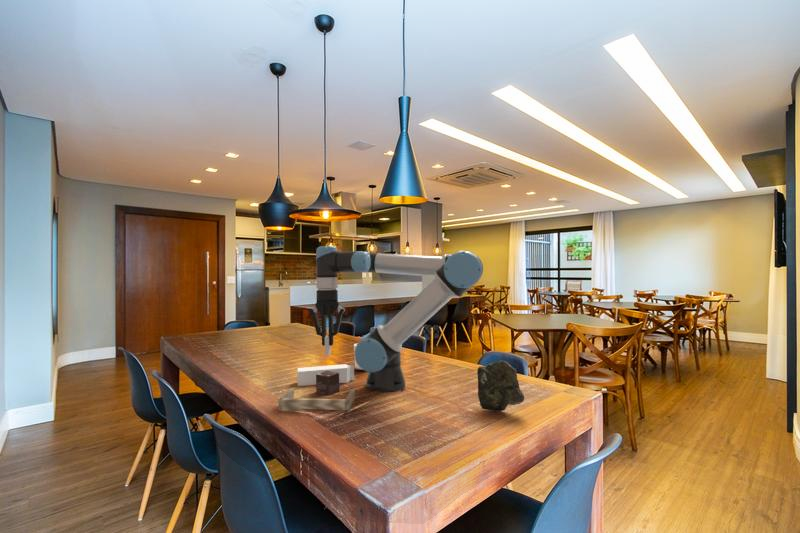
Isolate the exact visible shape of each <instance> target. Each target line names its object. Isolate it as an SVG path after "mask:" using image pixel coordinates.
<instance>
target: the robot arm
mask: <svg viewBox="0 0 800 533" xmlns="http://www.w3.org/2000/svg"><path fill="white" fill-rule="evenodd" d="M315 253H316V254H315V256H316V257H315V263H316V264H315V267H316V269H315V270H316V271H315V272H316V278H315V279H316V283H315V284H316V289H317V290H316V302H315V305H314V306H313V307H312V308H309V310H308V311H309V313H310V315H311V318H312V321H313V325H314V328H315V329H314V330H315V333H316V335H317V336H320V337H321V345H322V346H323V347H324V356H330V355H331V353H332V352H331V351H332V350H331V349H332V348H331V347H332V346H333V345H334V336H337V335H338V334H339V332H340V327H341V322H342V318H343V314H344V313H345V311H346V308H345V307H342V306H341V305H340V303H339V300H338V296H339V295H338V287H339V286H338V284H339V283H338V274H341V273H352V274H353V273H354V274H355V273H357V274H359V273H360V274H361V273H375V274H376V273H377V274H388V275H389V274H391V275H404V276H418V277H419V276H420V277H433V278H434V279H433V280H432V281H431V282H429V283H428V285H427V286H425V288H423V289H422V290H421V291H420V292H419V293H418V294H417V295H416V296H414V297H413V299H412V300H411V301H409V303H407V304H406V305H405V306H404V308H402V309H401V310H400V311H399V312H398V313H397V314H396V315H395V316H393V318H392V319H390V320H389V321H388V322H387V323H386V324H385V325H384V324H379V325H378V326H373V327H370V330H369V334H368V335H367V336H366V337H365V338H362V339H361V340H359V341H358V342H357V343H358V344H357V343H356V344H357V346H356V348H355V358H354V361H355V360H356V362H357V364H358V365H359V366H360V367H361V368H362V369H363V371H365V372H367V377H366V380H365V387H366V388H367V389H368V390H371V391H376V392H388V393H391V392H392V393H393V392H397V391H403V390H404V389H406V379H405V376H404V372H403V369H402V367H401V364H402V363H401V362H402V360H401V355H402V354H401V353H402V350H403V347H402V346H403V344H404V342H406V341H407V340H408V339H409V338H410V337H411V336H413V334H414V333H416V332H417V331H418V330H419V329H420V328H421V327H422V326H424V324H426V323H427V321H429V320H430V319H431V318H432V317H433V316H434V315H435V314H436V313H438V312H439V311H440V310H441V309H442V308H443V307H444V306H446V304H447V303H448V302H450V300H451V299H453V298H457V299H458V298H461V297H462V296H463V295H464V294H465V293H466V292H468V291H469V289H470V288H472V287H473V286H474V285H476V284H477V283H479V280H480V279H481V277H482V275H483V274H484V273H483V272H484V264H483V262H482V259H481V258H479V256H477V255H476V254H475V253H474V252H472V251H468V250H458V251H455V252H454V253H452V254H451V253H450V254H444V255H443V256H438V255H437V256H435V255H434V256H433V255H414V254H398V253H396V254H394V253H380V252H379V253H375V252H368V251H362V250H356V251H355V250H354V251H352V250H351V251H338V248H337V247H336V246H334V245H332V246H330V245H329V246H328V245H327V246H326V245H324V246H318V247H317V248H316V252H315ZM318 312H319V314H320V319H321V322H320V320H319V315H318ZM336 312H337V313H338V314H337V317H336V321H335V324H334V316H335V315H334V314H335V313H336ZM327 318H328V334H327Z"/></svg>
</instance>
